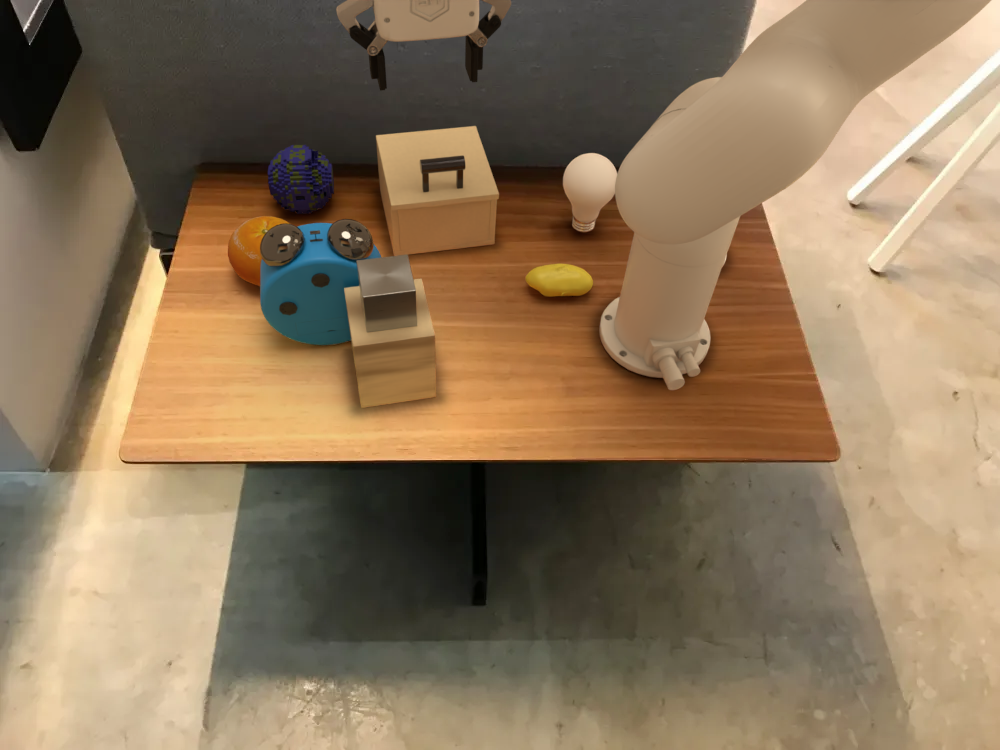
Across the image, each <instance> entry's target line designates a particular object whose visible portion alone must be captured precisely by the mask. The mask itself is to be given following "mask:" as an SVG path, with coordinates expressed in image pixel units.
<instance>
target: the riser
mask: <svg viewBox="0 0 1000 750" xmlns="http://www.w3.org/2000/svg"><path fill="white" fill-rule="evenodd" d="M413 280H414V284H415V288H416V304H417V326H412V327H405V328H397V329H390V330H383V331H375V332H368V333H367V332H366V326H365V320H364V314H363V308H362V302H361V297H360V288H359V286H356V287H348V288H344V292H345V300H346V307H347V315H348V322H349V329H350V337H351V341H350V343H351V344H350V345H351V352H352V357H353V363H354V371H355V377H356V384H357V389H358V396H359V402H360V408H361V409H364V408H365V409H366V408H372V407H377V406H384V405H392V404H398V403H399V404H400V403H407V402H412V401H418V400H425V399H431V398H432V399H433V398H437V367H436V365H437V362H436V361H437V360H436V359H437V358H436V333H435V328H434V325H433V320H432V317H431V312H430V308H429V304H428V299H427V295H426V291H425V287H424V283H423V282H424V281H423V278H422V277H421V278H413Z"/></svg>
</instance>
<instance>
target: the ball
mask: <svg viewBox="0 0 1000 750" xmlns="http://www.w3.org/2000/svg"><path fill="white" fill-rule="evenodd" d="M267 176H268V177H267V180H268V181H267V182H268V188H269V193H270V195H271V196H272V198H273V200H274V201H276V204H279V205H280V208H283V210H285V211H286V210H287V211H289V212H291V213H293V212H294V213H295V214H297V215H301V214H302V215H303V214H313V212H317V211H318V210H320V209H324V207H326V205H327V203H329V201H330V199H332V195H334V194H335V182H334V181H335V179H334V169H333V164H332V163H330V161H329V159H328V158H327V157H326V155H325V154H323V152H319V150H316V149H313V148H310V146H307V144H292V145H290V146H288V147H285V148H284V149H281V150H279V151H278V152H277V153H276V154H275V156H273V157H272V159H271V160H270V164H269V165H268V168H267Z"/></svg>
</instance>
